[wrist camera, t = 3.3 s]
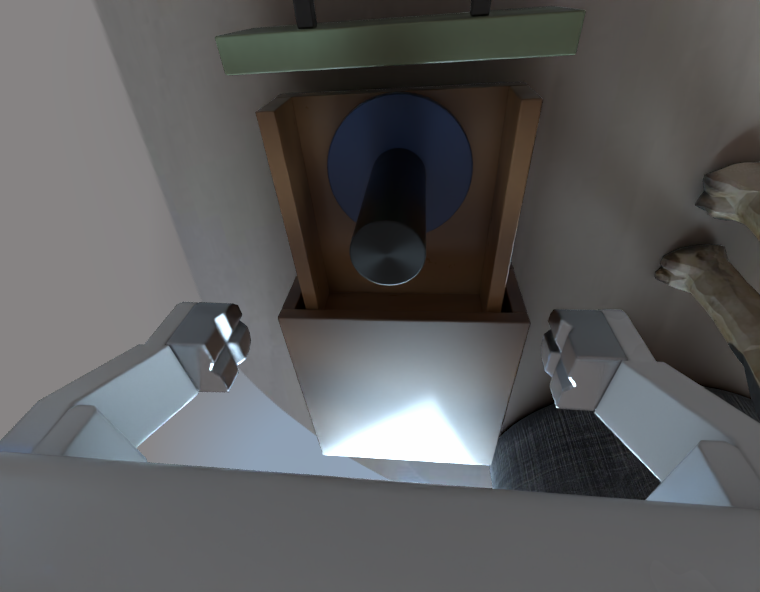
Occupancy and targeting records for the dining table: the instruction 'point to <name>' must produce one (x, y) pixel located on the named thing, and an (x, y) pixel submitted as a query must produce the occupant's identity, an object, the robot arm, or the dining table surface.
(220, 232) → the dining table surface
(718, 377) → the dining table surface
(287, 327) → the cabinet
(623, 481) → the planter
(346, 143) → the lid
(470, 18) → the drawer
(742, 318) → the figurine
